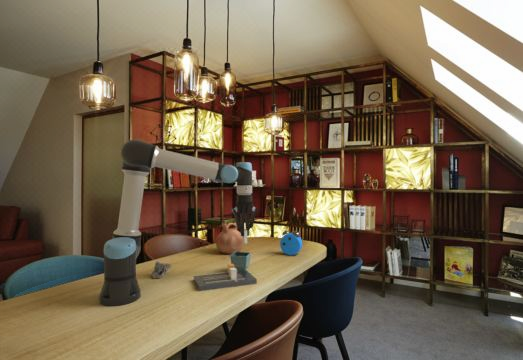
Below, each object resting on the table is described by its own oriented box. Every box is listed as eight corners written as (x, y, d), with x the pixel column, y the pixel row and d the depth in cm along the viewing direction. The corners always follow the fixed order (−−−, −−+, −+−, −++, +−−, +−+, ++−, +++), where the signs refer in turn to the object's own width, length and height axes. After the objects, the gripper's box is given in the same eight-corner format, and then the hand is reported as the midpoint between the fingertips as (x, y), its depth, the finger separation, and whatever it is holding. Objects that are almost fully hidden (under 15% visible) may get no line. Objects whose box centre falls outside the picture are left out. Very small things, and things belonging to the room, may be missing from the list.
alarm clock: (302, 254, 200) (302, 230, 200) (299, 256, 194) (299, 232, 194) (283, 252, 205) (283, 229, 205) (279, 254, 200) (279, 230, 200)
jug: (229, 248, 219) (228, 218, 219) (249, 251, 208) (249, 221, 208) (209, 253, 204) (209, 221, 204) (231, 257, 193) (231, 224, 193)
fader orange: (229, 275, 151) (229, 265, 151) (227, 273, 154) (227, 264, 154) (234, 274, 152) (234, 265, 152) (232, 272, 155) (232, 263, 155)
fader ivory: (231, 279, 144) (231, 270, 144) (229, 277, 147) (229, 268, 147) (236, 279, 145) (236, 269, 145) (234, 277, 148) (234, 267, 148)
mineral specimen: (155, 285, 158) (172, 281, 155) (144, 278, 153) (162, 274, 150) (159, 268, 165) (176, 264, 162) (149, 260, 160) (166, 256, 157)
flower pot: (246, 274, 160) (246, 256, 160) (229, 273, 162) (229, 255, 161) (251, 269, 168) (250, 252, 168) (234, 268, 170) (234, 251, 170)
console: (199, 290, 136) (199, 284, 136) (193, 280, 150) (193, 274, 150) (256, 283, 146) (256, 277, 146) (246, 274, 160) (246, 269, 160)
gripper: (233, 195, 149) (234, 245, 149) (259, 194, 153) (260, 243, 154) (229, 194, 156) (229, 242, 156) (254, 193, 160) (255, 240, 161)
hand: (245, 242), depth 155 cm, fingers closed
